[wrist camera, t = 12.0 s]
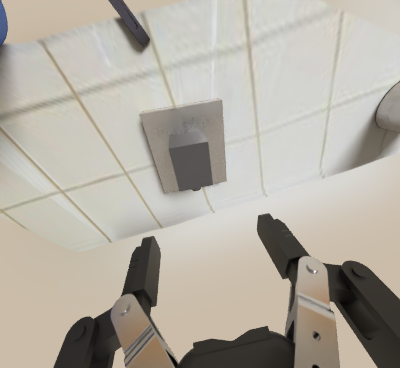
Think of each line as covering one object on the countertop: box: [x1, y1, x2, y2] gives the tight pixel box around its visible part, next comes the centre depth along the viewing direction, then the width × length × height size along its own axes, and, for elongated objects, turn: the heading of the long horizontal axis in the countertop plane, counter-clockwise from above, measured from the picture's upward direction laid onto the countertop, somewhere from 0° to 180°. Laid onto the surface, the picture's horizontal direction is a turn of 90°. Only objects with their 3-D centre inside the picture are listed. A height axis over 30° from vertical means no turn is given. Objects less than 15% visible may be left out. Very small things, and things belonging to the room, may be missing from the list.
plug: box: [168, 130, 213, 191], centre depth 25 cm, size 5×8×8 cm, turn 8°
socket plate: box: [140, 99, 227, 193], centre depth 28 cm, size 12×14×3 cm
